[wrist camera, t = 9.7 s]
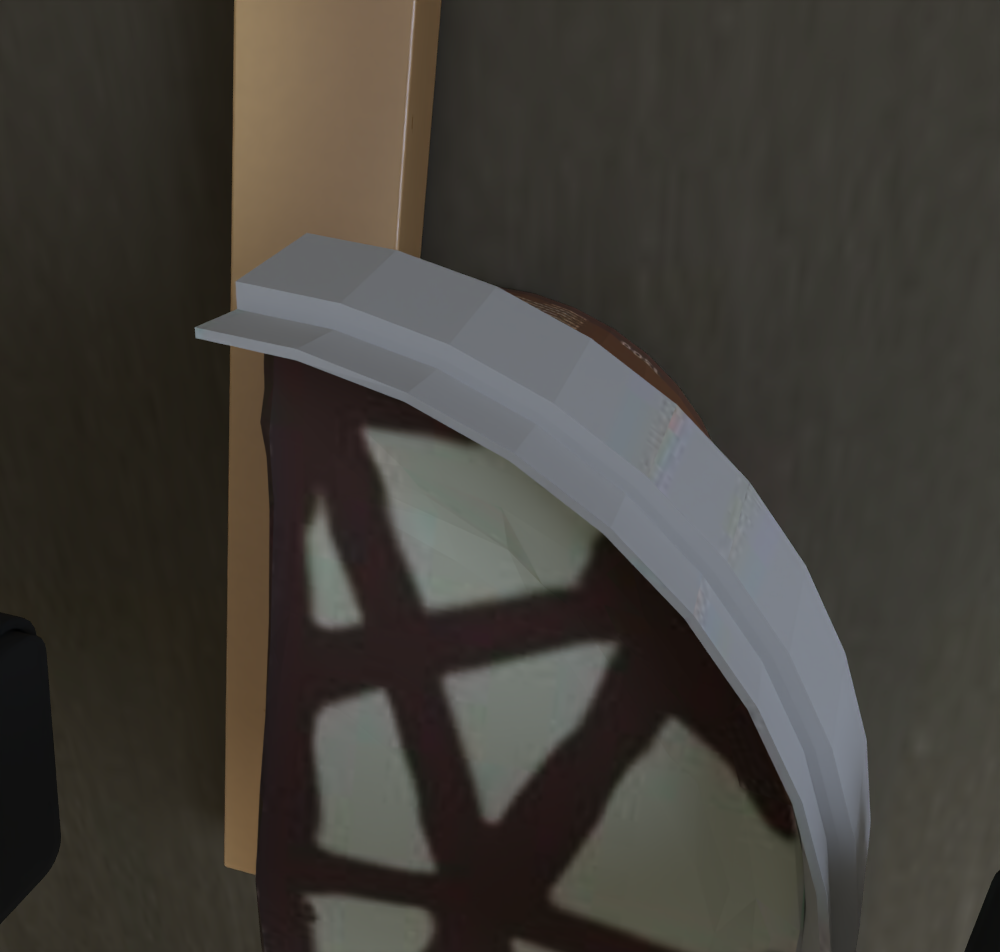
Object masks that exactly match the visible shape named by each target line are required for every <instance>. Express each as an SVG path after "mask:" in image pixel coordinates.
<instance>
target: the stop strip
mask: <svg viewBox="0 0 1000 952" xmlns="http://www.w3.org/2000/svg"><path fill="white" fill-rule="evenodd" d="M440 11H441V0H234V62H233V148H232V233H231V312H232V311H234V310H236V309H237V299H236V281H237V280H238V279H240V278H241V277H243V276H244V275H246V274H247V273H249V272H250V271H251V270H253V269H254V268H256V267H257V266H259V265H260V264H262V263H263V262H265V261H266V260H268V259H269V258H271V257H272V256H274V255H275V254H277V253H278V252H280V251H281V250H282V249H284V248H285V247H287V246H288V245H290V244H291V243H293V242H294V241H296V240H297V239H299V238H300V237H302V236H303V235H305V234H306V233H310V234H315V235H320V236H325V237H330V238H336V239H341V240H346V241H351V242H356V243H362V244H367V245H372V246H377V247H382V248H388V249H393V250H397V251H400V252H403V253H406V254H408V255H411V256H414V257H417V258H420V256H421V244H422V232H423V219H424V207H425V195H426V183H427V170H428V158H429V146H430V134H431V121H432V109H433V97H434V84H435V72H436V60H437V48H438V35H439V23H440ZM263 395H264V353H261V352H256V351H252V350H247V349H243V348H239V347H234V346H230V404H229V490H228V576H227V661H226V747H225V832H224V865H225V866H226V867H228V868H232V869H235V870H239V871H243V872H247V873H250V874H254V875H256V858H257V838H258V816H259V794H260V780H261V766H262V752H263V739H264V725H265V710H266V682H267V655H268V628H269V492H268V473H267V457H266V451H265V446H264V440H263V435H262V429H261V424H260V420H261V412H262V404H263Z"/></svg>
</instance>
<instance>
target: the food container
mask: <svg viewBox="0 0 1000 952" xmlns="http://www.w3.org/2000/svg"><path fill="white" fill-rule="evenodd" d="M236 299H237V309H236V310H234V311H232V312H229V313H227V314H225V315H222V316H220V317H218V318H215V319H213V320H211V321H208V322H206V323H204V324H201V325H199V326H197V327H195V337H196V338H198V339H203V340H207V341H212V342H216V343H221V344H225V345H230V346H234V347H239V348H243V349H247V350H252V351H256V352H261V353H264V395H263V404H262V412H261V420H260V424H261V429H262V435H263V440H264V446H265V451H266V457H267V473H268V492H269V628H268V655H267V682H266V710H265V725H264V739H263V752H262V766H261V780H260V794H259V816H258V838H257V858H256V890H257V902H258V913H259V925H260V937H261V945H262V952H855V951H856V945H857V939H858V933H859V926H860V917H861V908H862V898H863V889H864V880H865V871H866V861H867V852H868V843H869V834H870V825H871V821H870V800H869V779H868V759H867V740H866V736H865V732H864V727H863V723H862V719H861V715H860V711H859V707H858V703H857V699H856V695H855V691H854V687H853V683H852V679H851V674H850V670H849V666H848V662H847V658H846V654H845V651H844V649H843V647H842V645H841V643H840V640H839V638H838V636H837V634H836V631H835V629H834V627H833V625H832V623H831V620H830V618H829V616H828V614H827V611H826V609H825V607H824V605H823V603H822V600H821V598H820V596H819V594H818V591H817V589H816V587H815V585H814V582H813V580H812V578H811V576H810V574H809V571H808V569H807V567H806V565H805V564H804V562H803V561H802V559H801V558H800V556H799V555H798V553H797V552H796V550H795V549H794V547H793V546H792V544H791V543H790V541H789V540H788V538H787V537H786V535H785V534H784V532H783V531H782V529H781V528H780V526H779V525H778V523H777V522H776V521H775V519H774V518H773V516H772V515H771V513H770V512H769V510H768V509H767V507H766V506H765V504H764V503H763V501H762V500H761V498H760V497H759V495H758V494H757V492H756V491H755V489H754V488H753V486H752V485H751V483H750V482H749V481H748V480H747V479H746V478H745V477H744V475H743V474H742V473H741V472H740V471H739V470H738V469H737V468H736V467H735V466H734V465H733V464H732V463H731V462H730V461H729V460H728V458H727V457H726V456H725V455H724V454H723V453H722V452H721V451H720V450H719V449H718V448H717V447H716V446H715V445H714V444H713V443H712V440H711V438H710V436H709V434H708V432H707V430H706V428H705V426H704V424H703V422H702V419H701V418H700V417H699V415H698V414H697V412H696V411H695V409H694V408H693V406H692V405H691V404H690V402H689V401H688V399H687V398H686V396H685V395H684V394H683V392H682V391H681V389H680V388H679V386H678V385H677V384H676V383H675V382H674V381H673V380H672V379H671V378H670V377H669V376H668V375H667V374H666V373H665V372H664V371H663V370H662V369H661V367H660V366H659V365H658V364H657V363H656V362H655V361H654V360H653V359H652V358H651V357H650V356H649V355H648V354H647V353H645V352H644V351H643V350H641V349H640V348H639V347H637V346H636V345H635V344H633V343H632V342H631V341H629V340H628V339H627V338H625V337H624V336H623V335H621V334H620V333H619V332H617V331H616V330H615V329H613V328H611V327H610V326H608V325H606V324H604V323H602V322H600V321H598V320H597V319H595V318H593V317H591V316H589V315H587V314H585V313H584V312H582V311H580V310H578V309H576V308H574V307H571V306H568V305H565V304H562V303H560V302H557V301H554V300H551V299H548V298H546V297H543V296H540V295H537V294H534V293H529V292H523V291H518V290H512V289H507V288H502V287H497V286H494V285H491V284H489V283H486V282H483V281H480V280H478V279H475V278H472V277H469V276H467V275H464V274H461V273H458V272H456V271H453V270H450V269H447V268H444V267H442V266H439V265H436V264H433V263H431V262H428V261H425V260H422V259H420V258H417V257H414V256H411V255H408V254H406V253H403V252H400V251H397V250H393V249H388V248H382V247H377V246H372V245H367V244H362V243H356V242H351V241H346V240H341V239H336V238H330V237H325V236H320V235H315V234H310V233H306V234H305V235H303V236H302V237H300V238H299V239H297V240H296V241H294V242H293V243H291V244H290V245H288V246H287V247H285V248H284V249H282V250H281V251H280V252H278V253H277V254H275V255H274V256H272V257H271V258H269V259H268V260H266V261H265V262H263V263H262V264H260V265H259V266H257V267H256V268H254V269H253V270H251V271H250V272H249V273H247V274H246V275H244V276H243V277H241V278H240V279H238V280H237V281H236Z"/></svg>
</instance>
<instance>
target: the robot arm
mask: <svg viewBox="0 0 1000 952" xmlns="http://www.w3.org/2000/svg"><path fill="white" fill-rule="evenodd" d="M60 843H61V832H60V819H59V806H58V794H57V781H56V768H55V755H54V743H53V730H52V717H51V705H50V692H49V679H48V666H47V654H46V647H45V643H44V642H43V640H42V639H41V638H40V637H38V636H36V631H35V628H34V626H33V625H32V623H31V622H30V621H28V620H26V619H25V618H22V617H18V616H13V615H9V614H5V613H1V612H0V924H1V923H2V922H3V920H4V919H5V918H6V917H7V916H8V915H9V914H10V913H11V912H12V911H13V910H14V909H15V908H16V907H17V906H18V904H19V903H20V902H21V901H22V900H23V899H24V898H25V897H26V896H27V895H28V894H29V893H30V892H31V891H32V889H33V888H34V887H35V886H36V885H37V884H38V883H39V882H40V881H41V880H42V879H43V878H44V877H45V875H46V874H47V873H48V871H49V870H50V869H51V867H52V865H53V863H54V862H55V859H56V857H57V854H58V852H59V848H60ZM965 952H1000V870H999V871H998V872H997V873H996V874H995V876H994V878H993V880H992V883H991V885H990V888H989V890H988V893H987V895H986V898H985V900H984V903H983V906H982V908H981V911H980V913H979V916H978V918H977V921H976V923H975V926H974V929H973V931H972V934H971V936H970V939H969V941H968V944H967V946H966V949H965Z"/></svg>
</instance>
